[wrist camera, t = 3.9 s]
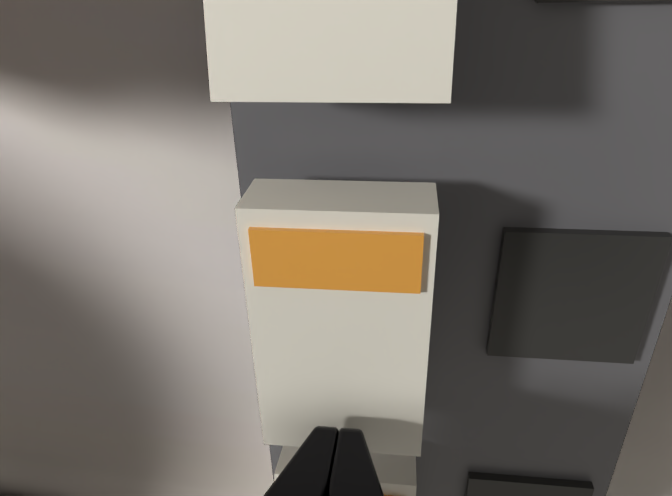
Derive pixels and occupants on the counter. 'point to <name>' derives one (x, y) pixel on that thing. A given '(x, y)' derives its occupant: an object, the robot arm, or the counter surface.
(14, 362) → the counter surface
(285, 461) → the block
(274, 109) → the power strip
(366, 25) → the block
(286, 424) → the block
